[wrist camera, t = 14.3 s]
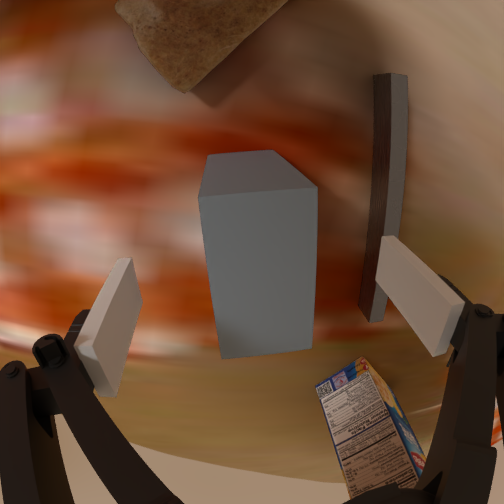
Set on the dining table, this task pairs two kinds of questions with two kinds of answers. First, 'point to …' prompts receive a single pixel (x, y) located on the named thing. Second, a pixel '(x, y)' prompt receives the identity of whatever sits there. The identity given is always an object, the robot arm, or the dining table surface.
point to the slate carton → (259, 252)
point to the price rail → (385, 183)
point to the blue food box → (369, 430)
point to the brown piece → (192, 33)
